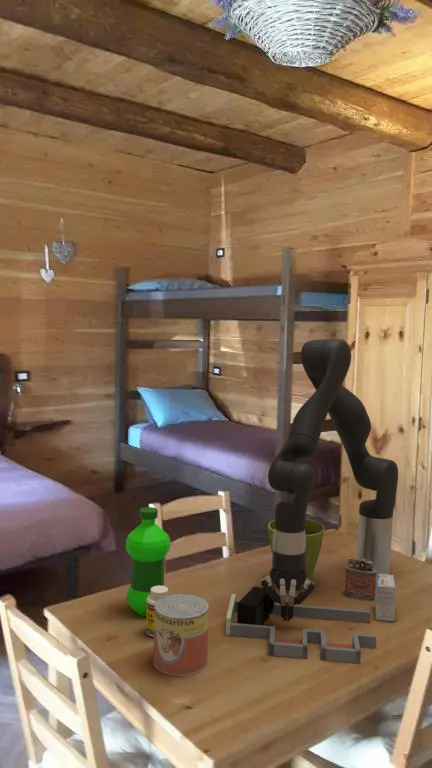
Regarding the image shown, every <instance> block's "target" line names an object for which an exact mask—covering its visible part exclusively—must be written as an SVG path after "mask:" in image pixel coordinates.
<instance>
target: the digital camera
mask: <svg viewBox="0 0 432 768" xmlns="http://www.w3.org/2000/svg"><path fill="white" fill-rule="evenodd" d="M239 600H240V601H239V602H238V612H236V613H237V614H236V615H237V616H236V618H237V619H236V623H240V624H252V625H263V626H264V624H265V623H266V622H267V621H268V619H269V618H270V614H271V613H272V611H273V608H274V603H275V602H274V601H273V600H272V599H271V597H270V596H269V595H268V593H267V592H266V591H265V589H264V588H263V587H259V586H252V588H251V589H250V590H248V592H247V593H246V594H245V595H243V597H242V598H241V599H239Z"/></svg>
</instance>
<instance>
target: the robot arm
mask: <svg viewBox="0 0 432 768" xmlns="http://www.w3.org/2000/svg"><path fill="white" fill-rule="evenodd" d="M300 360H301V364H302V368H303V370H304V373H305V374H306V376H307V378H308V379H309V381H310V382H311V384H312V386H313V387H314V389H315V391H314V392H313V394H312V395H311V396H310V397H309V398H307V400H306V401H305V402H304V404H302V406H300V408H299V409H298V411H297V412H296V414H295V415H294V417H293V420H292V422H291V423H292V424H291V426H290V429H289V432H288V435H287V439H286V441H285V443H284V444H283V446H282V448H281V449H280V450H279V451H278V454H277V455H276V457H275V458H274V460H273V461H272V463H271V465H269V468H268V473H267V481H268V485H269V486H270V487H271V488H272V489H273V490H275V491H277V492H278V491H279V492H283V493H288V494H294V496H293V500H282V501H280V502H278V503H277V504H276V505H275V507H274V520H275V525H274V534H273V543H272V546H273V553H272V552H271V554H272V559H271V563H272V564H271V569H270V571H269V574H268V575H267V576H265V577H261V580H260V581H261V582H260V585H261V588H264V589H265V591H266V592H267V593H268V595H269V596H270V597H271V599H272V600H273V601H274V602H275V603H279V604H280V605H281V615H280V618H281V619H283V621H284V622H291V620H293V618H294V616H293V607H294V605H302V603H304V602H305V600H306V599H307V598H308V597H309V595H310V594H311V593H312V592H313V591H314V590H315V589H316V585H315V584H316V583H315V581H314V580H312V579H308V578H307V574H306V572H305V553H306V534H305V523H306V519H307V515H306V514H307V509H308V505H309V502H310V498H311V494H312V492H313V490H314V487H315V482H316V473H315V470H314V469H313V467H312V466H311V465H309V464H307V463H302V462H296V461H297V460H298V459H301V458H308V457H313V455H314V454H315V453H316V451H317V447H318V445H319V441H320V438H321V434H322V431H323V428H324V424H325V422H326V418H327V416H328V415H329V418H330V420H331V422H332V424H333V425H332V426H333V427H334V429H335V431H336V433H337V435H338V437H339V439H340V441H341V443H342V446H343V448H344V451H345V453H346V455H347V459H348V462H349V465H350V467H351V471H352V475H353V478H354V480H355V482H356V483H357V485H358V486H359V487H361V488H363V489H366V490H370V491H375V492H376V495H375V498H374V499H367V500H364V501H361V502H360V503H359V505H358V506H359V507H358V526H357V527H358V528H357V546H356V559H358V560H361V559H366V561H371V562H373V566H372V569H376V570H377V574H388V575H390V571H391V570H390V569H391V555H392V537H393V521H394V519H393V518H394V517H393V516H394V510H395V505H396V501H397V500H396V499H397V490H398V482H399V468H398V465H397V463H396V462H395V461H394V460H391V459H387V458H384V457H383V458H382V457H378V456H373V455H371V454H370V452H369V450H368V447H367V445H366V443H367V441H368V439H369V437H370V433H371V431H372V423H371V419H370V416H369V414H368V411H367V408H366V407H365V405H364V402H362V401H361V400H360V399H359V397H357V395H355V394H354V393H353V392H351V390H349V389H348V388H346V387H345V386H344V385H343V383H344V381H345V379H346V377H347V374H348V372H349V371H350V366H351V361H352V351H351V348H350V345H349V343H348V342H347V341H346V340H344V339H341V338H328V339H325V338H324V339H323V338H322V339H311V340H307V341H306V342H305V343H304V344H303V345H302V347H301V351H300ZM356 566H359V565H356ZM368 568H369V566H368ZM304 582H305V584H304V588H302V589H301V591H300V592H299V593H298V594H296V591H298V590H300V589H299V588H300V587H301V585H302V584H303V583H304ZM272 583H273V584H274V585H275V586H276V589H278V590H279V593H278V592H277V591H276V589H274V586H273V585H272ZM287 592H288V601H287ZM295 595H296V596H295Z"/></svg>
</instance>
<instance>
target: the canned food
mask: <svg viewBox="0 0 432 768" xmlns="http://www.w3.org/2000/svg"><path fill="white" fill-rule="evenodd" d="M154 609H155V615H154V637H153V659H152V663H153V666H154V668H156V669H157V670H158V671H159V672H161V673H163V674H166V675H169V676H176V677H181V676H182V677H185V676H191V675H195V674H198V673H200V672H202V671H203V670H204V669H206V667H207V666H208V661H209V660H208V651H209V649H208V648H209V645H208V644H209V643H208V642H209V618H210V616H209V614H210V612H209V611H210V603H209V602H208V601H207V600H206V599H205V598H203V597H201V596H198V595H195V594H191V593H174V594H173V593H172V594H168V596H164V597H162V598H160V599H159V600H157V601H156V602H155V604H154Z"/></svg>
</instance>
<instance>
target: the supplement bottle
mask: <svg viewBox="0 0 432 768" xmlns="http://www.w3.org/2000/svg"><path fill="white" fill-rule="evenodd" d="M168 595H169V588H168V587H167V586H166V585H165V586H154V587H152V588H151V593H150V595H149V596H148V598H147V612H146V620H145V631H146V632H145V633H146V634H147V635H148V636H150V637H153V638H154V615H155V609H154V604H155V602H156V601H157V600H159V599H160V598H162V597H164V596H168Z"/></svg>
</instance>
